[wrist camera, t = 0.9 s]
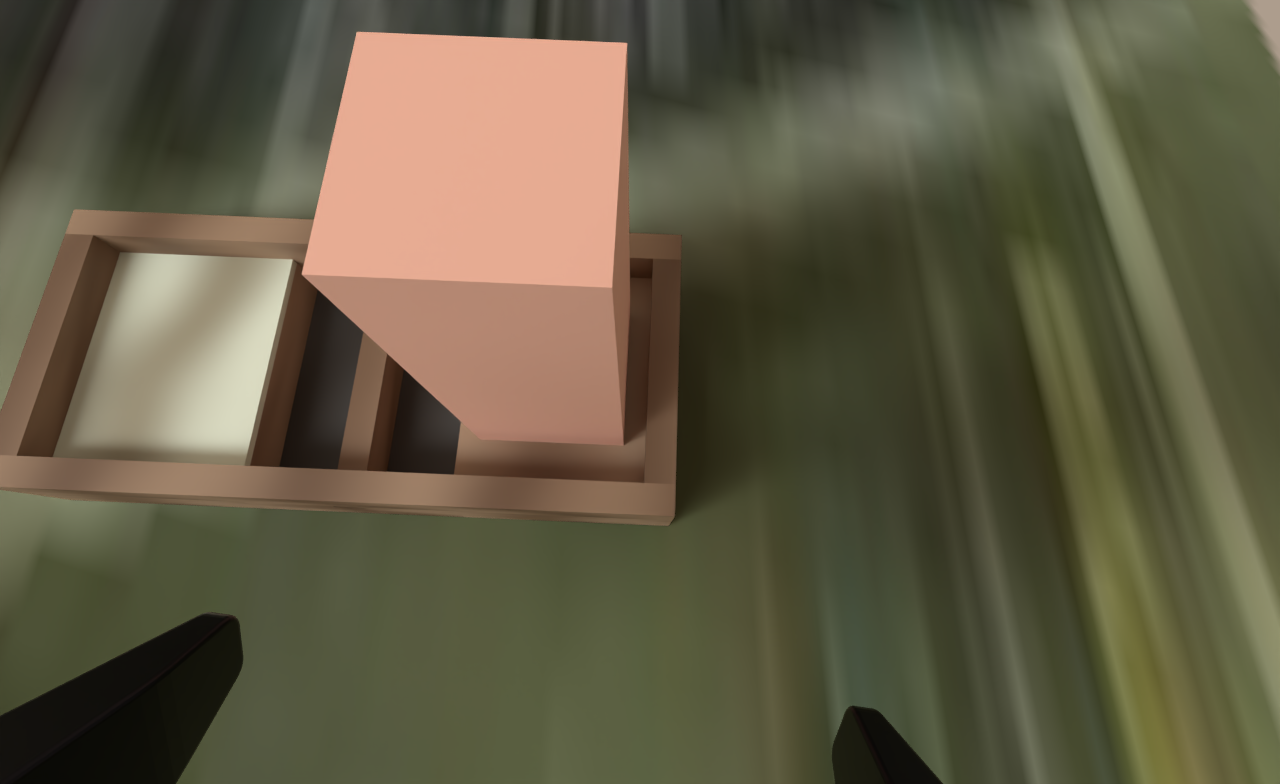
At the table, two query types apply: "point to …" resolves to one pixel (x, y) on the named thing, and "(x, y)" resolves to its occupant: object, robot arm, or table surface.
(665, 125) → the table surface
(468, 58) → the coral block
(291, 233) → the box
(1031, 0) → the table surface
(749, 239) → the table surface
